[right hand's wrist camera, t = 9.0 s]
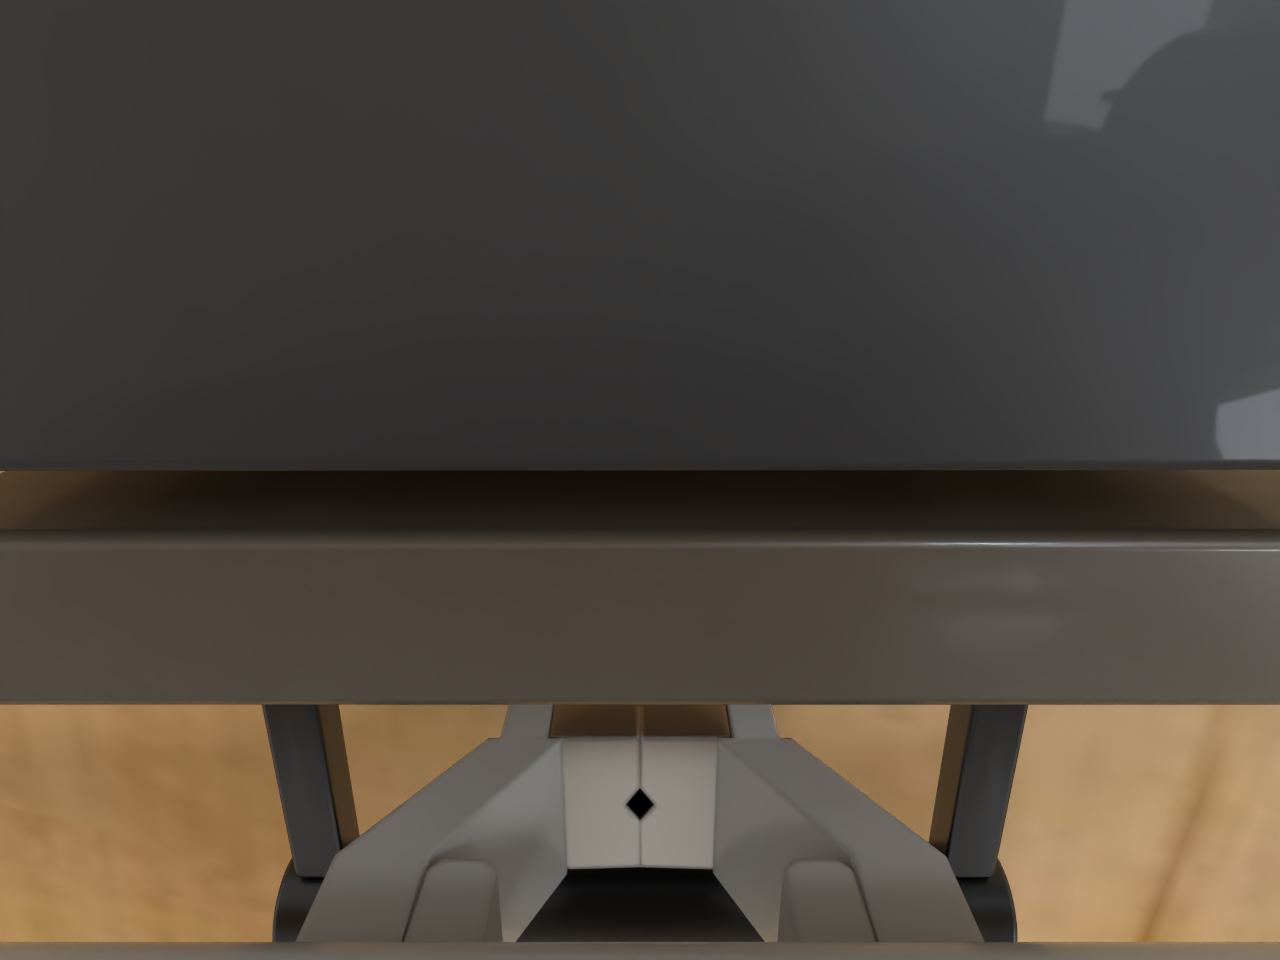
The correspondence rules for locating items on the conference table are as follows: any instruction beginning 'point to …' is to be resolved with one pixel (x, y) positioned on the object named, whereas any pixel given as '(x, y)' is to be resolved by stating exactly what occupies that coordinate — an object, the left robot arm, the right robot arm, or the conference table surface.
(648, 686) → the drawer
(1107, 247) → the cabinet
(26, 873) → the conference table surface
